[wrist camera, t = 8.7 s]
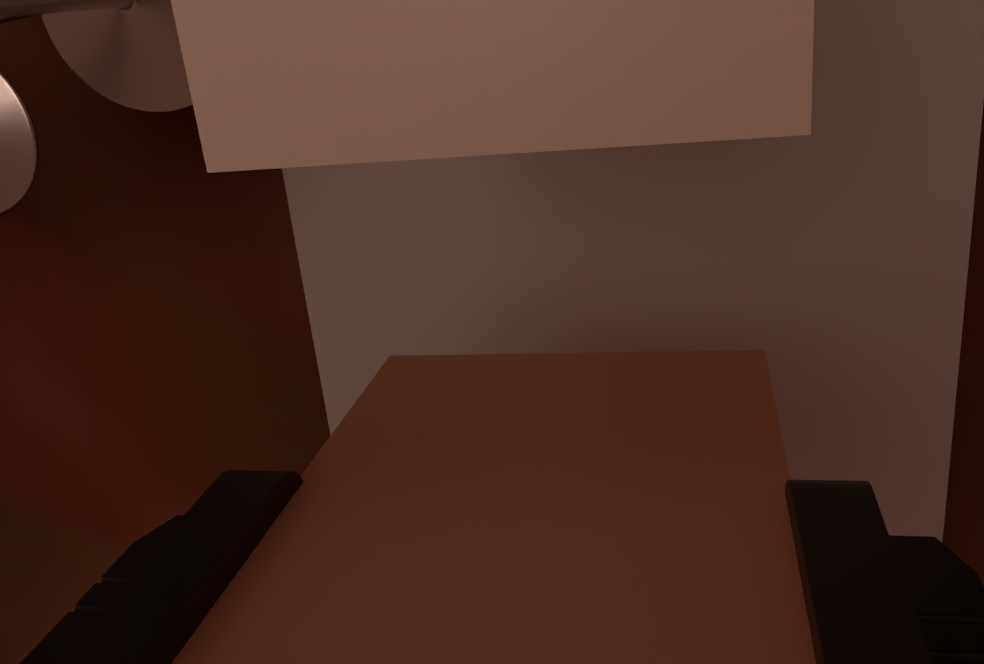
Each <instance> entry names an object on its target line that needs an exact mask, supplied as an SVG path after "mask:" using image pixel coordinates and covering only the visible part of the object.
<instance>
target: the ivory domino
mask: <svg viewBox="0 0 984 664" xmlns="http://www.w3.org/2000/svg"><path fill="white" fill-rule="evenodd" d="M171 4H172V9H173V14H174V18H175V23H176V28H177V32H178V37H179V42H180V47H181V51H182V56H183V61H184V65H185V70H186V75H187V79H188V84H189V89H190V93H191V98H192V103H193V108H194V112H195V117H196V122H197V126H198V131H199V136H200V140H201V145H202V150H203V155H204V159H205V164H206V169H207V173H212V172H227V171H243V170H259V169H275V168H291V167H307V166H323V165H339V164H355V163H371V162H386V161H402V160H418V159H434V158H450V157H466V156H482V155H498V154H514V153H530V152H545V151H561V150H577V149H593V148H609V147H625V146H641V145H657V144H673V143H689V142H705V141H720V140H736V139H752V138H768V137H784V136H800V135H811V111H812V74H813V37H814V0H171Z"/></svg>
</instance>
